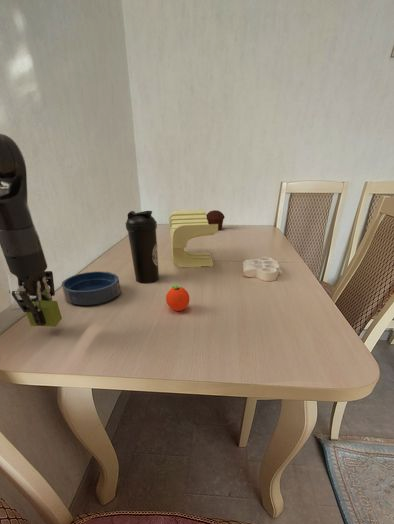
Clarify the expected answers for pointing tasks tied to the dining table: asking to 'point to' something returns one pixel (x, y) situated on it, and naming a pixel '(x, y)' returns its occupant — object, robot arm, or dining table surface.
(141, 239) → the water bottle
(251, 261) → the white lobed compartment tray
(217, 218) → the muffin
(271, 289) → the dining table surface
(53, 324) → the sponge
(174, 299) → the clementine
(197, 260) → the slatted curved stool
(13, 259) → the robot arm
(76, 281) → the bowl
